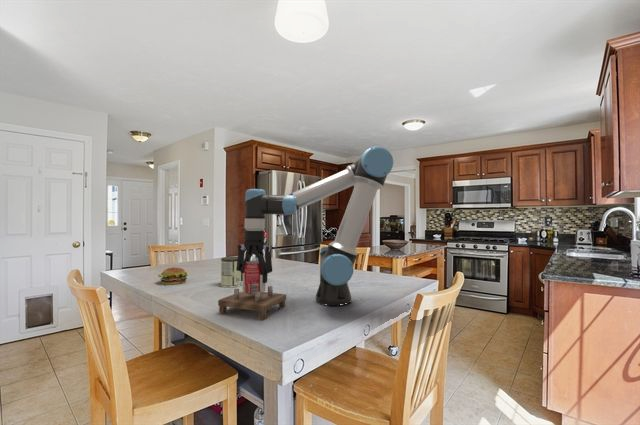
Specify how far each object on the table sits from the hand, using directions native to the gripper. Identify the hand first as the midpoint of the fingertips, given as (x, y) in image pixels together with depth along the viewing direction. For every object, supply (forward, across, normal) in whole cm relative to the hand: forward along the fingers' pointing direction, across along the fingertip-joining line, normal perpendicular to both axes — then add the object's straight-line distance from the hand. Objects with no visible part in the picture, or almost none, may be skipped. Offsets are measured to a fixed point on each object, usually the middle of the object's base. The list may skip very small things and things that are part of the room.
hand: (253, 290), depth 117 cm
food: (+8, +66, -25) cm, 71 cm away
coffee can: (+8, +34, -32) cm, 47 cm away
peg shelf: (+8, 0, 0) cm, 8 cm away
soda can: (+1, 0, 0) cm, 1 cm away
